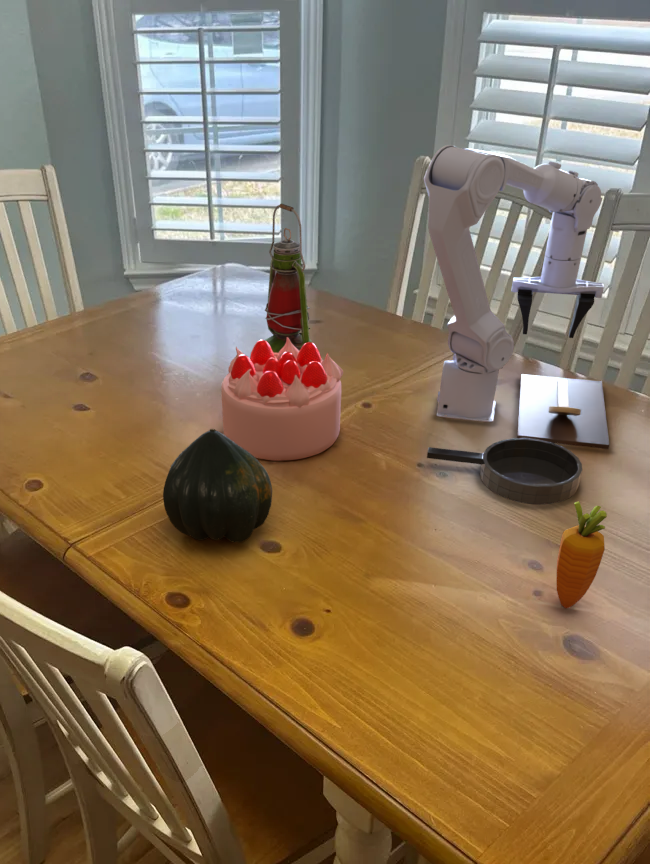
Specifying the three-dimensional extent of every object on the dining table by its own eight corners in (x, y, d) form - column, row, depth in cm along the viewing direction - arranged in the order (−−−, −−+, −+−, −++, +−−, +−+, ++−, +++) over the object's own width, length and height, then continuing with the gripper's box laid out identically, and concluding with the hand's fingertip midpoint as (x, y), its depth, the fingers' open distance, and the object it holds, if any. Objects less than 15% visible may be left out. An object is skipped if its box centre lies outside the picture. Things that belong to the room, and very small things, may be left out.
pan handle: (426, 458, 126) (427, 452, 125) (428, 452, 127) (428, 446, 127) (482, 464, 124) (483, 459, 123) (483, 458, 125) (484, 453, 125)
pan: (476, 499, 120) (479, 479, 118) (482, 452, 131) (485, 433, 129) (578, 512, 117) (583, 492, 115) (576, 463, 128) (580, 443, 126)
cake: (221, 409, 146) (217, 333, 138) (332, 403, 147) (335, 327, 139) (226, 465, 130) (221, 383, 122) (350, 458, 131) (354, 376, 123)
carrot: (538, 596, 102) (562, 495, 94) (576, 593, 103) (604, 492, 94) (553, 622, 98) (580, 520, 90) (593, 619, 99) (624, 517, 90)
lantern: (330, 370, 158) (335, 208, 141) (285, 384, 154) (284, 218, 136) (289, 347, 168) (289, 192, 150) (245, 359, 164) (240, 202, 146)
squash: (222, 547, 104) (258, 434, 104) (130, 518, 111) (164, 413, 111) (268, 562, 116) (300, 462, 117) (183, 535, 123) (213, 441, 124)
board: (516, 441, 134) (517, 435, 133) (520, 380, 152) (521, 374, 152) (607, 451, 130) (609, 445, 130) (600, 387, 149) (601, 381, 148)
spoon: (582, 414, 133) (589, 370, 132) (549, 410, 134) (556, 367, 133) (570, 420, 147) (577, 381, 147) (541, 417, 149) (547, 378, 148)
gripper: (608, 250, 136) (590, 328, 144) (518, 245, 140) (505, 322, 148) (611, 263, 131) (592, 344, 139) (517, 258, 135) (504, 337, 143)
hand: (547, 334), depth 143 cm, fingers open, 7 cm apart
